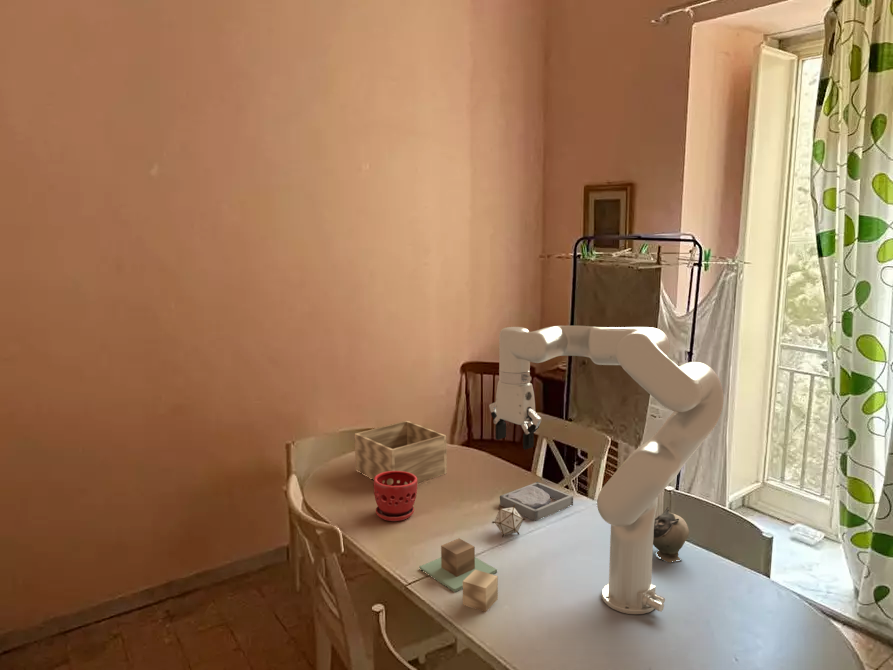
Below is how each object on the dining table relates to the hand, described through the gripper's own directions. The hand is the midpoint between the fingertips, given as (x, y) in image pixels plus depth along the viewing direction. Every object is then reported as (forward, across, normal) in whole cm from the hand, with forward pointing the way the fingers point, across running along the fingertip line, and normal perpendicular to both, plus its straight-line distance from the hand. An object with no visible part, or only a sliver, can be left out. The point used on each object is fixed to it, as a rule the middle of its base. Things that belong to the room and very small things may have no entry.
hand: (514, 443), depth 168 cm
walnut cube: (+32, +6, +14) cm, 35 cm away
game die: (+33, +12, -10) cm, 36 cm away
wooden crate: (+32, +70, -14) cm, 78 cm away
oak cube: (+32, -8, +19) cm, 38 cm away
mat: (+32, +6, +14) cm, 36 cm away
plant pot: (+33, +43, +7) cm, 54 cm away
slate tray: (+32, +20, -30) cm, 48 cm away
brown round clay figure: (+32, -24, -33) cm, 52 cm away
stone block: (+33, +22, -29) cm, 49 cm away
